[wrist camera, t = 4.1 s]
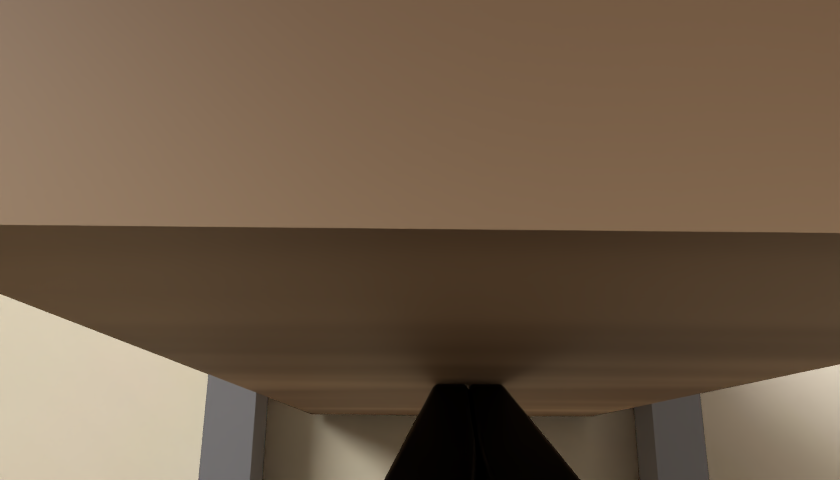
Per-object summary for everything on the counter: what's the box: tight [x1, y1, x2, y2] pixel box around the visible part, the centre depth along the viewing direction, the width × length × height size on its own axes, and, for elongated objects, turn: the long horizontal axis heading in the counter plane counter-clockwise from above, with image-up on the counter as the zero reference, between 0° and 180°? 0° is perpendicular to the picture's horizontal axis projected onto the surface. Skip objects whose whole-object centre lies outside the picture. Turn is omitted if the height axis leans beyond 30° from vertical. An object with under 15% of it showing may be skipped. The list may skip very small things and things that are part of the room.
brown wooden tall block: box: [0, 0, 840, 416], centre depth 9 cm, size 3×6×13 cm, turn 90°
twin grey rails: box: [198, 374, 709, 480], centre depth 14 cm, size 18×10×3 cm, turn 0°
